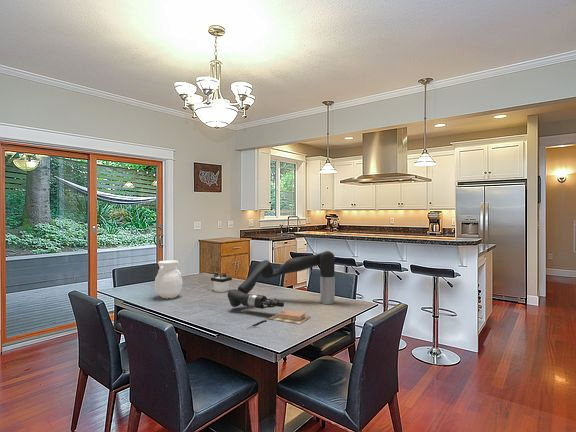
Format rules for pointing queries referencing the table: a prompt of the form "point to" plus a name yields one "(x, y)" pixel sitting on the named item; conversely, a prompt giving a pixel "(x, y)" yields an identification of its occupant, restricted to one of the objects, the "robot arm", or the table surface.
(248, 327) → the kitchen knife
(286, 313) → the tile
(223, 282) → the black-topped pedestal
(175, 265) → the white vase
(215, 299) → the table surface
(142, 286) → the table surface
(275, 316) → the board
